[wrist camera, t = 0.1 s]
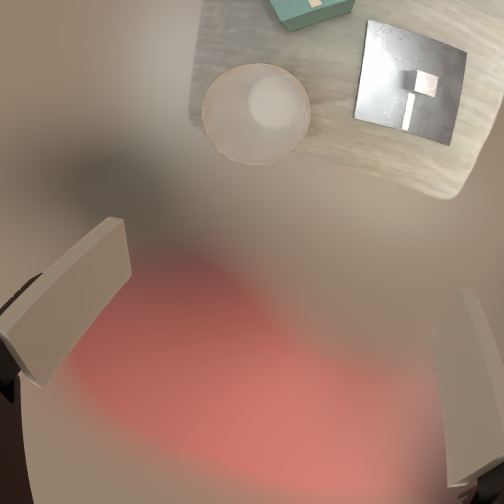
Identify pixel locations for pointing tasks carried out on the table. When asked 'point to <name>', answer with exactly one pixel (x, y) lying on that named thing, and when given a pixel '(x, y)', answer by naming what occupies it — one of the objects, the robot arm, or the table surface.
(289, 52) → the table surface
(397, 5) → the table surface
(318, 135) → the table surface
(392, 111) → the shaft fixture
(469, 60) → the table surface
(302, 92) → the cup
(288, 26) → the teal block
